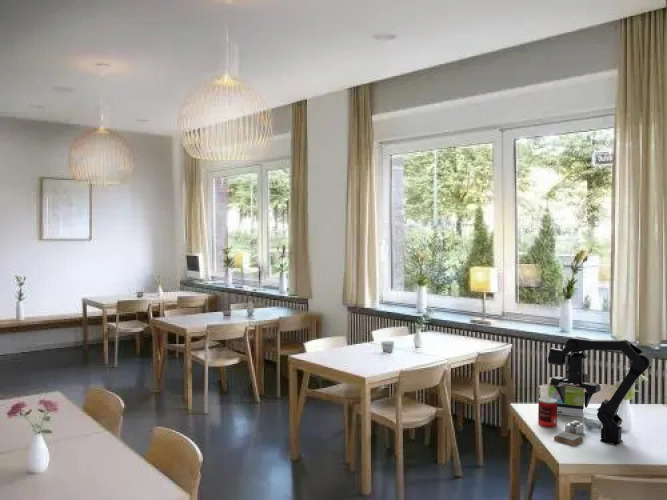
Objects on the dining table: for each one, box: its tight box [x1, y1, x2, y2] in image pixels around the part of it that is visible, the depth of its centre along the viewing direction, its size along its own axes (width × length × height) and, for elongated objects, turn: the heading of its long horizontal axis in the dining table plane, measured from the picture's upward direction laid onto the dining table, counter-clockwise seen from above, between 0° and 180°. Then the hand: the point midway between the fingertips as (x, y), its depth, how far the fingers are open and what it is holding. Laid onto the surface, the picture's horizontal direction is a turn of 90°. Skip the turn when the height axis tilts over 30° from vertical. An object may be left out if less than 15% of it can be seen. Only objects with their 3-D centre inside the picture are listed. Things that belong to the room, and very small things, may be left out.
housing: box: [564, 419, 585, 436], centre depth 237 cm, size 4×7×5 cm, turn 133°
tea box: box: [546, 377, 585, 418], centre depth 264 cm, size 15×10×15 cm
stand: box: [553, 431, 584, 447], centre depth 228 cm, size 8×8×2 cm
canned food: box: [537, 396, 558, 429], centre depth 247 cm, size 8×8×11 cm
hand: (574, 405), depth 236 cm, fingers open, 9 cm apart
